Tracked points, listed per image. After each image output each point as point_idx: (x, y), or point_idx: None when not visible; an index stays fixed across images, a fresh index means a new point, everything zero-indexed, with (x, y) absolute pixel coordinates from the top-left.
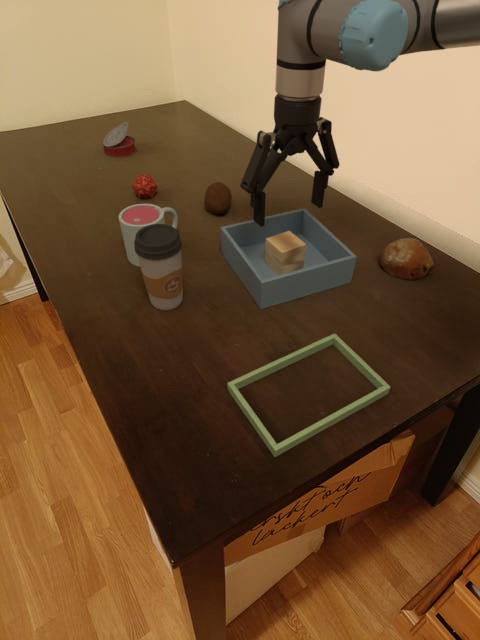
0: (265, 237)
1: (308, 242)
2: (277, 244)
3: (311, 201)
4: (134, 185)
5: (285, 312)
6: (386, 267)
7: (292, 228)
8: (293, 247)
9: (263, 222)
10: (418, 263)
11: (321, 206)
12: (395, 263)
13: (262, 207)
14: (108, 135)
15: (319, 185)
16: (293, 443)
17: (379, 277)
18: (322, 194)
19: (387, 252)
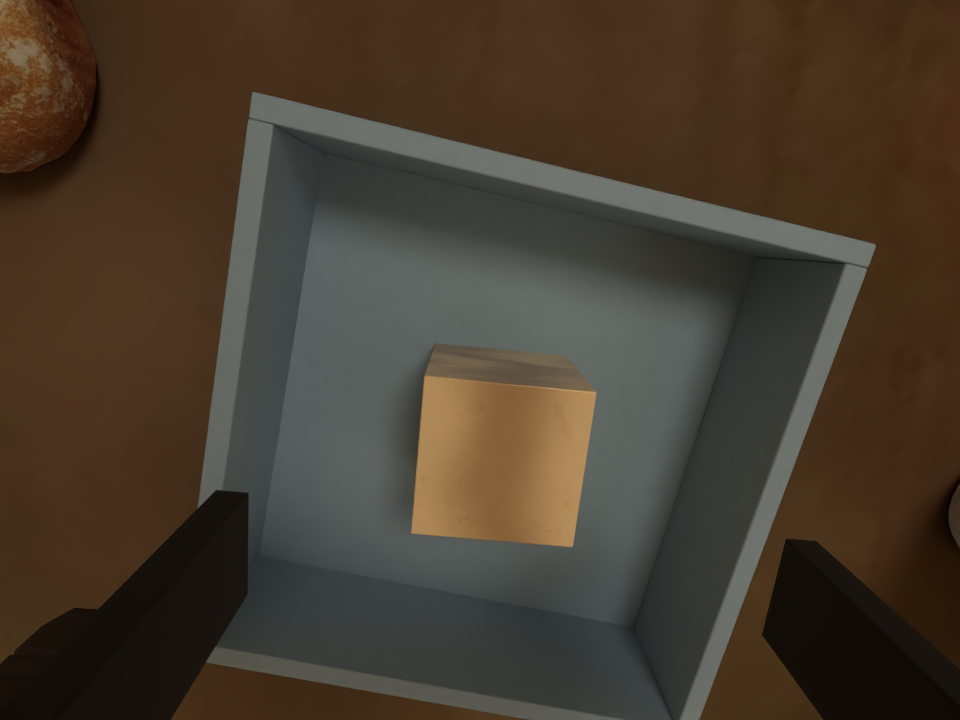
0: (444, 607)
1: (278, 479)
2: (560, 468)
3: (243, 597)
4: None
5: (704, 160)
6: (82, 71)
7: (296, 588)
8: (506, 395)
9: (813, 558)
10: None
11: (222, 495)
12: (32, 6)
13: (942, 664)
14: None
15: (140, 667)
16: None
17: (158, 71)
18: (170, 561)
19: (6, 95)
